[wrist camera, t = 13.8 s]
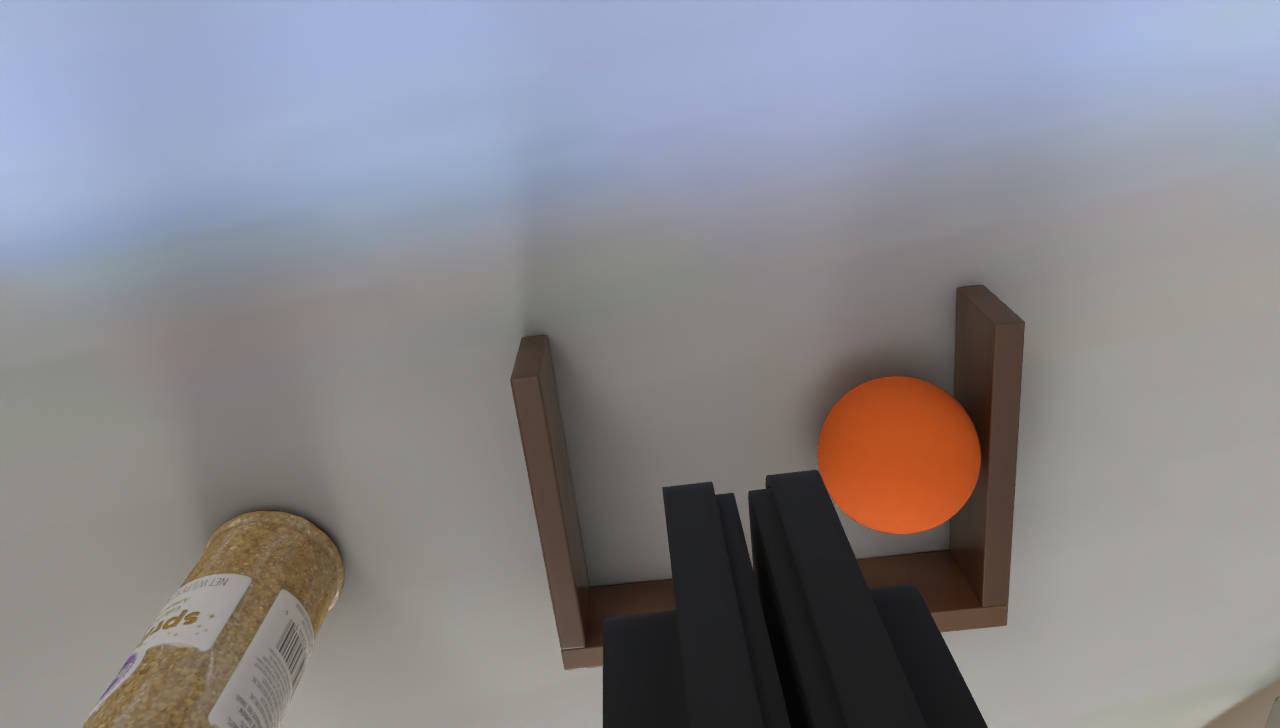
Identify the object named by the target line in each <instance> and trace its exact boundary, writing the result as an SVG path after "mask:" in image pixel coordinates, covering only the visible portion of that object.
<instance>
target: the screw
mask: <svg viewBox="0 0 1280 728" xmlns="http://www.w3.org/2000/svg"><path fill="white" fill-rule="evenodd" d="M1265 728H1280V697H1277V698H1276V700H1275V702H1274V705H1273V707H1272V710H1271V712H1270V715H1269V717H1268V720H1267V722H1266V725H1265Z"/></svg>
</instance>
